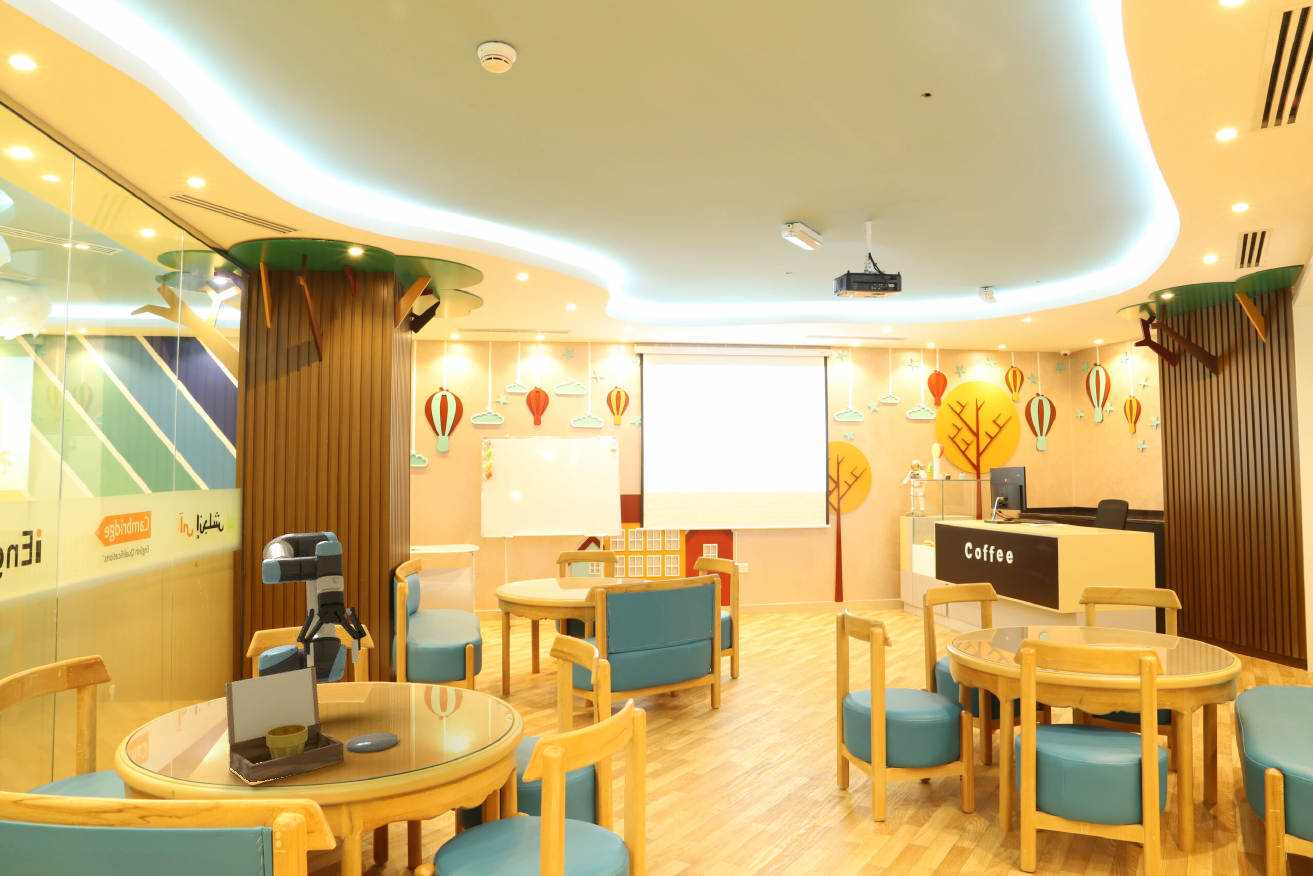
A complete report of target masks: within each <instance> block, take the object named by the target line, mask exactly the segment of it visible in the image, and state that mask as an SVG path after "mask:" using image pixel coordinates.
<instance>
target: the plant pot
mask: <svg viewBox="0 0 1313 876" xmlns="http://www.w3.org/2000/svg"><path fill="white" fill-rule="evenodd" d="M307 738H308V727H307V726H306V725H302V724H290V725H283V726H279V727H275V728H272V729H270V730H269V731H267V733H266V745H267V746H268V747H269V749H270V754H271V758H272V760H273V759H277V758H281V757H285V756H289V755H293V754H297V753H301V752H303V749H304V744H305V741H307Z"/></svg>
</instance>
